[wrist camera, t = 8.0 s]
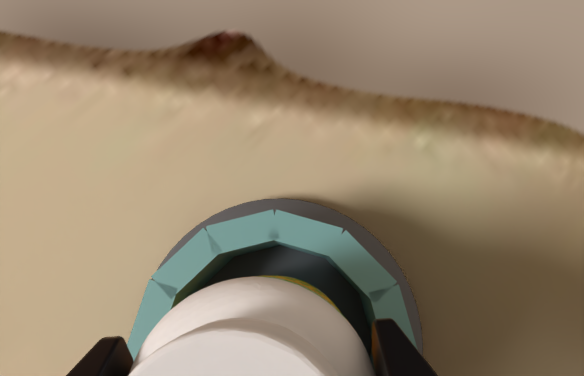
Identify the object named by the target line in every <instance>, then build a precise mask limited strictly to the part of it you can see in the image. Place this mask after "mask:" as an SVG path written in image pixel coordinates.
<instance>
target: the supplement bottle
mask: <svg viewBox="0 0 584 376" xmlns="http://www.w3.org/2000/svg"><path fill="white" fill-rule="evenodd" d="M128 376H376V374H375V371H374V368H373V365H372V363H371V360H370V358H369V355H368V353H367V351H366V348H365V347H364V345H363V343H362V341H361V339H360V337H359V336H358V334H357V332H356V331H355V330H354V328H353V327H352V326H351V324H350V323H349V322H348V320H347V319H346V318H345V317H344V316H343V315H342V313H341V312H340V310H339V309H338V308H337V306H336V305H335V304H334V303H333V302H332V300H330V299H329V298H328V297H327V296H326V295H325V294H324V293H323V292H322V291H320V290H319V289H318V288H316V287H315V286H313V285H311V284H309V283H307V282H305V281H302V280H299V279H296V278H292V277H288V276H278V275H270V276H266V275H263V276H252V277H242V278H235V279H230V280H226V281H222V282H219V283H216V284H213V285H211V286H208V287H206V288H203V289H201V290H199V291H197V292H195V293H194V294H192V295H190V296H188V297H187V298H185V299H184V300H183V301H181V302H180V303H179V304H177V305H176V306H175V307H174V308H172V309H171V310H170V311H169V312H168V313H167V314H166V315H165V316H164V317H163V318H162V319H161V320H160V321H159V322H158V323H157V324H156V326H155V327H154V328H153V330H152V331H151V332H150V334H149V335H148V336H147V338H146V339H145V341H144V343H143V344H142V346H141V348H140V350H139V352H138V354H137V356H136V358H135V360H134V362H133V365H132V367H131V370H130V373H129V375H128Z"/></svg>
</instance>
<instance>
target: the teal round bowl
mask: <svg viewBox="0 0 584 376" xmlns="http://www.w3.org/2000/svg"><path fill="white" fill-rule="evenodd" d="M263 275H266V276H270V275H278V276H288V277H292V278H296V279H299V280H302V281H305V282H307V283H309V284H311V285H313V286H315V287H316V288H318V289H319V290H320V291H322V292H323V293H324V294H325V295H326V296H327V297H328V298H329V299H330V300H332V302H333V303H334V304H335V305H336V306H337V308H338V309H339V310H340V312H341V313H342V315H343V316H344V317H345V318H346V319H347V320H348V322H349V323H350V324H351V326H352V327H353V328H354V330H355V331H356V332H357V334H358V336H359V337H360V339H361V341H362V343H363V345H364V347H365V348H366V351H367V353H368V355H369V358H370V360H371V363H372V365H373V368H374V371H375V366H374V359H373V352H372V327H373V321H374V320H375V319H381V318H391V319H393V320H394V321H395V322H396V323H397V324H398V326H399V327H400V328H401V329H402V331H403V332H404V333H405V334H406V336H407V337H408V338H409V340H410V341H411V342H412V343H413V345H414V346H415V347H416V348H417V350H418V351H419V352H420V353H421V355H422V356H423V341H422V331H421V323H420V318H419V314H418V310H417V305H416V302H415V300H414V297H413V294H412V291H411V289H410V286H409V284H408V282H407V280H406V278H405V276H404V274H403V273H402V271H401V269H400V267H399V266H398V264H397V263H396V262H395V260H394V259H393V257H392V256H391V254H390V253H389V252H388V251H387V250H386V249H385V247H384V246H383V245H382V244H381V243H380V242H379V241H378V240H377V239H376V238H375V237H374V236H373V235H372V234H371V233H369V232H368V231H367V230H366V229H365V228H364V227H362V226H361V225H359V224H358V223H356V222H355V221H353V220H352V219H350V218H349V217H347V216H345V215H343V214H341V213H339V212H337V211H335V210H333V209H330V208H327V207H324V206H321V205H319V204H316V203H311V202H306V201H301V200H293V199H263V200H257V201H252V202H247V203H243V204H240V205H237V206H234V207H231V208H228V209H226V210H224V211H221V212H219V213H217V214H215V215H213V216H211V217H210V218H208V219H207V220H205V221H203V222H202V223H200V224H199V225H197V226H196V227H195V228H194V229H192V230H191V231H190V232H189V233H188V234H186V235H185V236H184V237H183V238H182V239H181V240H180V241H179V242H178V243H177V244H176V245H175V246H174V247H173V248H172V250H171V251H170V252H169V253H168V255H167V256H166V258H165V259H164V260H163V262H162V263H161V264H160V266H159V268H158V270H157V271H156V272H155V273H154V274H153V275H152V276H151V277H152V279H149V282H148V285H147V287H146V290H145V293H144V296H143V299H142V302H141V305H140V308H139V311H138V314H137V317H136V320H135V323H134V326H133V329H132V332H131V335H130V338H129V341H128V343H127V347H128V349H129V351H130V353H131V355H132V357H133V361H134V360H135V358H136V356H137V354H138V352H139V350H140V348H141V346H142V344H143V343H144V341H145V339H146V338H147V336H148V335H149V334H150V332H151V331H152V330H153V328H154V327H155V326H156V324H157V323H158V322H159V321H160V320H161V319H162V318H163V317H164V316H165V315H166V314H167V313H168V312H169V311H170V310H171V309H172V308H174V307H175V306H176V305H177V304H179V303H180V302H181V301H183V300H184V299H185V298H187V297H188V296H190V295H192V294H194V293H195V292H197V291H199V290H201V289H203V288H206V287H208V286H211V285H213V284H216V283H219V282H222V281H226V280H230V279H235V278H242V277H252V276H263ZM375 374H376V372H375Z"/></svg>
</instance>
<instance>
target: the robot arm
mask: <svg viewBox="0 0 584 376" xmlns="http://www.w3.org/2000/svg"><path fill="white" fill-rule="evenodd" d="M372 352H373V359H374V366H375V372H376V376H438V375H437V374H436V373H435V371H434V370H433V369H432V367H431V366H430V365H429V364H428V362H427V361H426V360H425V359H424V357H423V356H422V355H421V353H420V352H419V351H418V350H417V348H416V347H415V346H414V345H413V343H412V342H411V341H410V340H409V338H408V337H407V336H406V334H405V333H404V332H403V331H402V329H401V328H400V327H399V326H398V324H397V323H396V322H395V321H394V320H393V319H391V318H381V319H375V320H374V321H373V327H372ZM133 362H134V361H133V357H132V355H131V353H130V351H129V349H128V347H127V344H126V342H125V340H124V339H123V338H122V337H121V336H115V337H105V338H102V339H101V340H99V341H98V342H97V343H96V344H95V346H94V347H93V348H92V349H91V350H90V351H89V352H88V353H87V354H86V355H85V356H84V357H83V358H82V359H81V360H80V361H79V363H78V364H77V365H76V366H75V367H74V368H73V369H72V370H71V371H70V372H69V373H68V374H67V375H66V376H128V375H129V373H130V370H131V367H132V365H133Z"/></svg>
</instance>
